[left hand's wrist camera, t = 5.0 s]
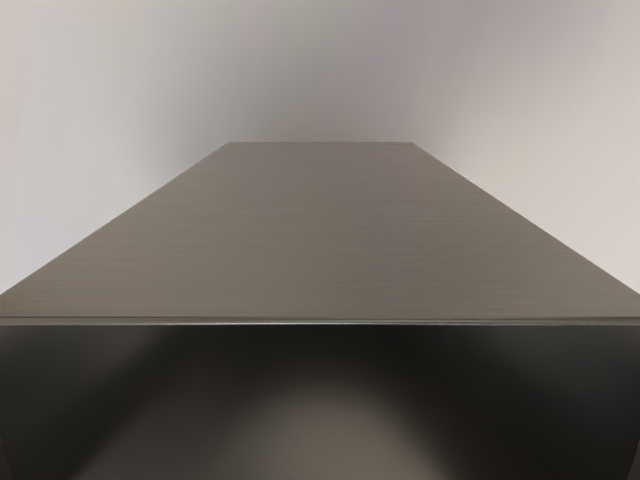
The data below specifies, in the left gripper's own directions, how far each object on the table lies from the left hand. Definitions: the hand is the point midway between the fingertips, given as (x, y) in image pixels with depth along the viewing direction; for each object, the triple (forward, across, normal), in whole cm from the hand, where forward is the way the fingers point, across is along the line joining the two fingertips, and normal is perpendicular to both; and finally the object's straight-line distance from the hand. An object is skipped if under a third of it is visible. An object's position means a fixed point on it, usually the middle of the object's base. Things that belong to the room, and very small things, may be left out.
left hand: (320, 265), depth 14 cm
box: (+2, 0, -9) cm, 9 cm away
